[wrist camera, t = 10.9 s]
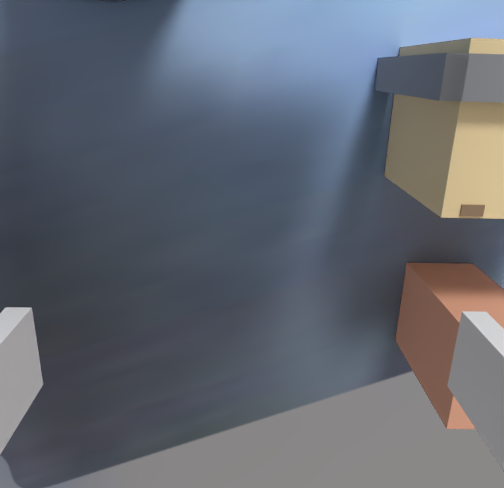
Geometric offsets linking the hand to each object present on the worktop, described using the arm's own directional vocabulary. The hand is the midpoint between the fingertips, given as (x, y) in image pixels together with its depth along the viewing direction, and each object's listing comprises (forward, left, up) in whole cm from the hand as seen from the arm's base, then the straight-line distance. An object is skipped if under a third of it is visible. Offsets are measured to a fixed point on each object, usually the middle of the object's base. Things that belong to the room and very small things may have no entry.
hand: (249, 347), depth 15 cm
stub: (+12, +18, -27) cm, 34 cm away
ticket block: (-5, +18, -27) cm, 33 cm away
